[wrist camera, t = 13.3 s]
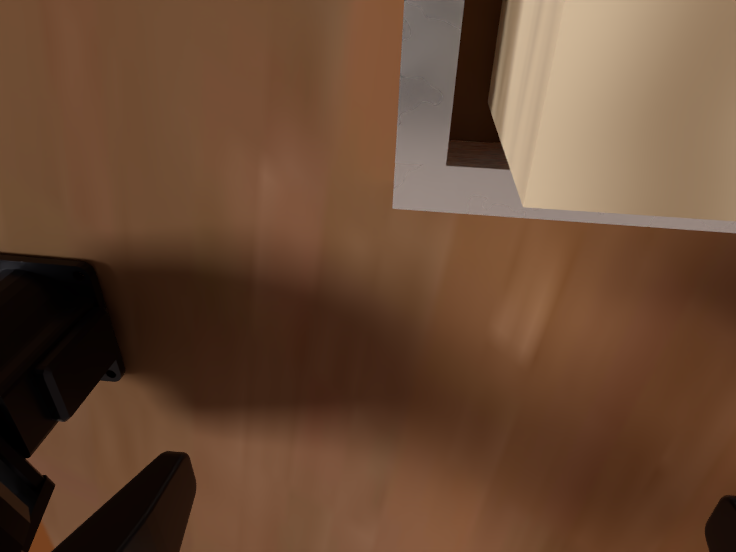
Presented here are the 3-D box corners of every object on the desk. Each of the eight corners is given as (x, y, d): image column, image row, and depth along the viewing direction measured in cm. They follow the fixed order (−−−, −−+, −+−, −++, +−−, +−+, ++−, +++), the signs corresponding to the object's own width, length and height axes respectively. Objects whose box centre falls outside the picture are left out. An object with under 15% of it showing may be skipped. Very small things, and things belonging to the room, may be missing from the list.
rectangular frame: (397, 178, 18) (392, 208, 16) (422, -228, 13) (419, -264, 10) (707, 199, 17) (745, 233, 15) (884, -227, 12) (982, -265, 10)
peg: (487, 102, 17) (522, 207, 10) (515, -88, 14) (590, -123, 7) (648, 110, 16) (800, 225, 9) (709, -84, 13) (983, -117, 7)
